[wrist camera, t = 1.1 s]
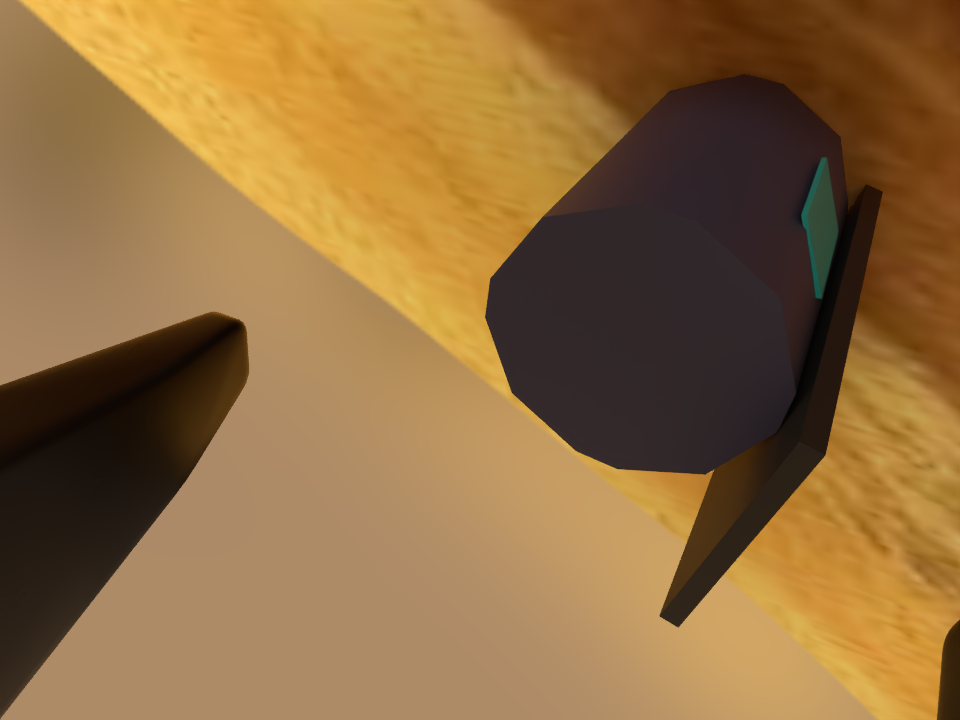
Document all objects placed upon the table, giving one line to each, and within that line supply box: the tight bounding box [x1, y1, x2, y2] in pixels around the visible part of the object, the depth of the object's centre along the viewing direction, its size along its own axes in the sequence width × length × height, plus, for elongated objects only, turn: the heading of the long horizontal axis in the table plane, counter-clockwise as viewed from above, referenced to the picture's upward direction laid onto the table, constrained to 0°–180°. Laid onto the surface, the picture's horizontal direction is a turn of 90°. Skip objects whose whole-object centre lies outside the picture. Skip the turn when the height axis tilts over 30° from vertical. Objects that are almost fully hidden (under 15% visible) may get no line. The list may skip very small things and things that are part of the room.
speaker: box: [485, 74, 882, 627], centre depth 16 cm, size 8×6×10 cm
